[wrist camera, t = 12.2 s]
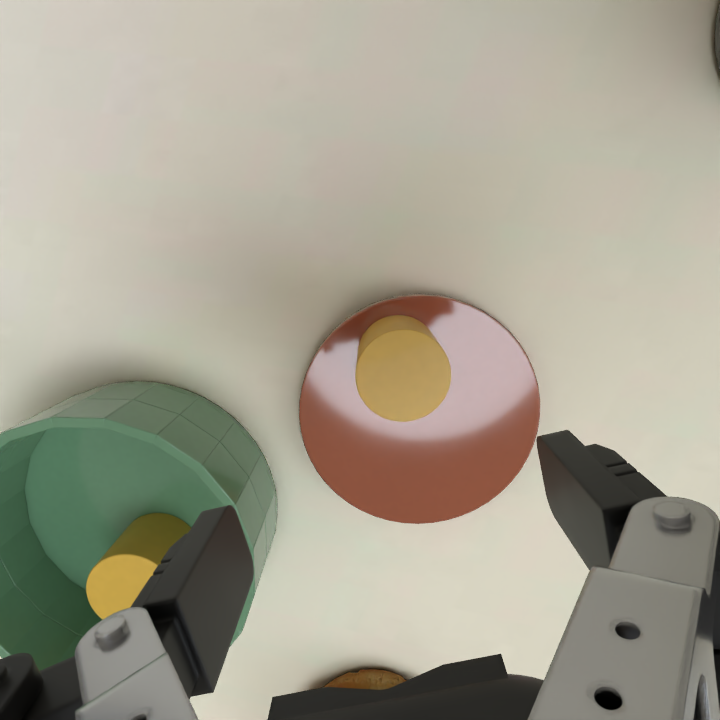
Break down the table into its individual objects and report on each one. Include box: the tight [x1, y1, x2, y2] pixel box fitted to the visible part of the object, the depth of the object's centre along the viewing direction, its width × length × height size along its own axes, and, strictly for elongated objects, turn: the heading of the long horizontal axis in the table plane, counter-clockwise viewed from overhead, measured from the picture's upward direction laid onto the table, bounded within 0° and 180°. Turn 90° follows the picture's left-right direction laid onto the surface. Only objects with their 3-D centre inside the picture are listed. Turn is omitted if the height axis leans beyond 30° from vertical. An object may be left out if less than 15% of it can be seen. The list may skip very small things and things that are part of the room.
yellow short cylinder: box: [86, 513, 191, 619], centre depth 27 cm, size 5×5×4 cm
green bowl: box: [0, 381, 277, 671], centre depth 26 cm, size 15×15×6 cm
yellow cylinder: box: [355, 315, 451, 422], centre depth 24 cm, size 4×4×4 cm
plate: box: [299, 294, 540, 524], centre depth 27 cm, size 13×13×1 cm
